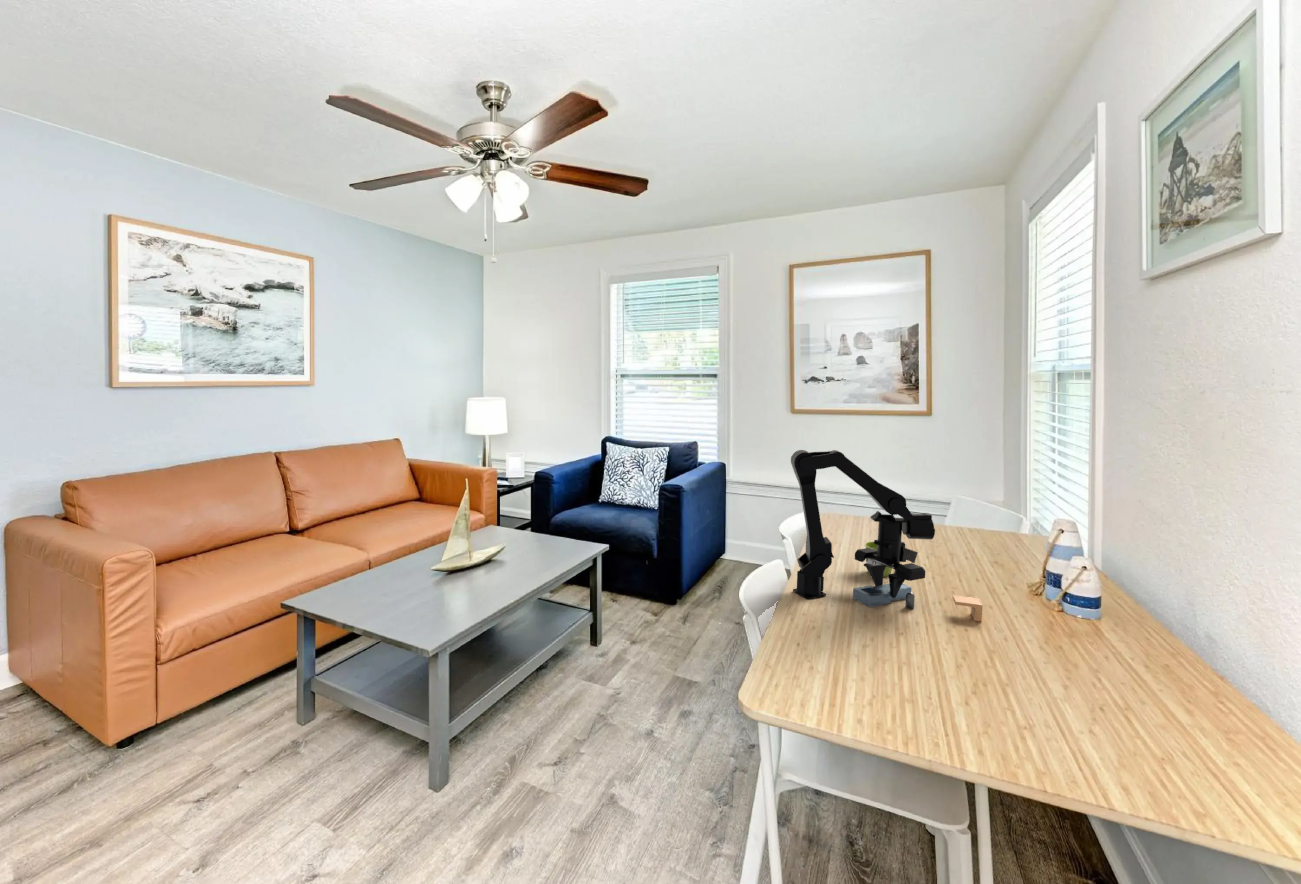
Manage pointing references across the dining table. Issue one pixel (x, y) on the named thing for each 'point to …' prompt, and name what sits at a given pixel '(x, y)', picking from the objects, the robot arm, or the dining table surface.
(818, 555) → the robot arm
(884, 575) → the plant pot
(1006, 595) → the dining table surface
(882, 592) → the link
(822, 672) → the dining table surface
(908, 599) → the cylinder
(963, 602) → the keeper
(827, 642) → the dining table surface
